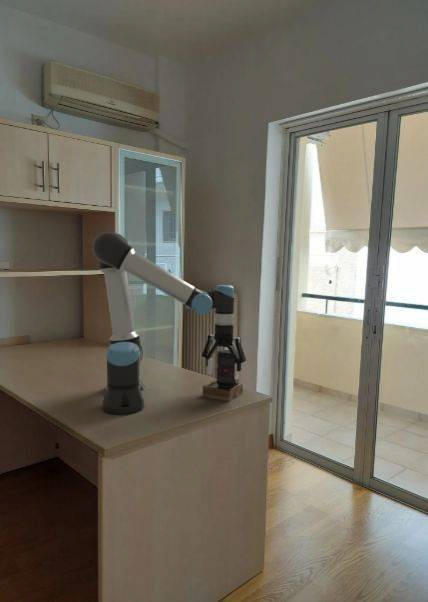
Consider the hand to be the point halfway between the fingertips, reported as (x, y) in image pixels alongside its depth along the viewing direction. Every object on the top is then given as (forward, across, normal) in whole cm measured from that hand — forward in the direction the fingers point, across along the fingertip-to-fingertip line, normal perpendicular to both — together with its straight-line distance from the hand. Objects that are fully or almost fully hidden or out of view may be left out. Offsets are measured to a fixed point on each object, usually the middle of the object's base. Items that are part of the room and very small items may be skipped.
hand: (223, 376), depth 180 cm
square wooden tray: (+8, 0, 0) cm, 8 cm away
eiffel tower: (+8, +38, +14) cm, 42 cm away
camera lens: (+5, -2, 0) cm, 5 cm away
